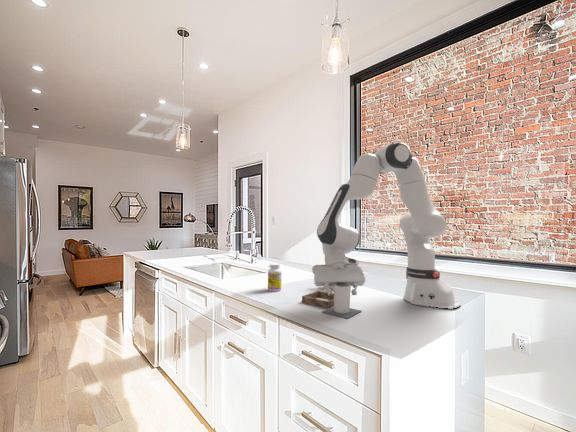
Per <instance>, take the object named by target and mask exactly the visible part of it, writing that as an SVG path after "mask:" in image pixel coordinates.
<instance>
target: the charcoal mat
mask: <svg viewBox="0 0 576 432" xmlns="http://www.w3.org/2000/svg"><path fill="white" fill-rule="evenodd" d="M321 313H323V314H326V315H327V314H328V315H330V316H335V317H339V318H343V319H346V320H349V319H350V318H352V317H354V316H357V315H358V314H360V313H362V310H361V309H360V310H359V309H356V308H352V307H350V308H349V312H348V313H338V312H335V311H334V306H332V307H330V308H325V309H323V310H322V311H321Z"/></svg>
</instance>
